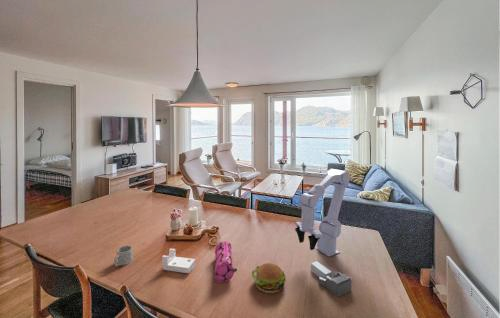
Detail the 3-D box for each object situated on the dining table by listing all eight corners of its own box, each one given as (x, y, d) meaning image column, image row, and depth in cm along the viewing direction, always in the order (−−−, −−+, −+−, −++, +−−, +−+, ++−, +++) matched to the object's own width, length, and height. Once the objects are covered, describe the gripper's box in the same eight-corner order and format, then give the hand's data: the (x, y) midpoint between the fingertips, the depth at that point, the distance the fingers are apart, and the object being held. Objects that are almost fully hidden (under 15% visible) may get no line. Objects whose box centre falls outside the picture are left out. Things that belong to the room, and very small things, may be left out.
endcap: (317, 283, 99) (318, 271, 98) (334, 276, 104) (335, 265, 103) (335, 298, 91) (336, 285, 90) (353, 289, 95) (353, 277, 94)
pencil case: (237, 282, 100) (237, 261, 99) (214, 285, 98) (213, 263, 97) (232, 255, 121) (232, 237, 119) (213, 257, 119) (213, 238, 118)
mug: (124, 257, 120) (123, 244, 119) (136, 258, 118) (135, 246, 117) (109, 268, 110) (108, 255, 109) (121, 270, 109) (120, 257, 108)
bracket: (163, 271, 108) (162, 256, 107) (171, 262, 115) (170, 248, 114) (188, 275, 105) (188, 259, 104) (195, 266, 112) (195, 251, 111)
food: (252, 273, 106) (252, 257, 104) (283, 274, 105) (283, 258, 104) (251, 295, 92) (251, 277, 91) (286, 296, 92) (287, 278, 90)
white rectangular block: (310, 271, 108) (311, 263, 107) (316, 269, 109) (316, 261, 109) (325, 282, 100) (325, 274, 99) (331, 280, 101) (331, 271, 101)
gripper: (291, 215, 114) (290, 241, 116) (311, 226, 101) (310, 255, 103) (302, 212, 117) (301, 237, 119) (323, 223, 105) (322, 251, 107)
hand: (306, 245), depth 112 cm, fingers open, 7 cm apart
